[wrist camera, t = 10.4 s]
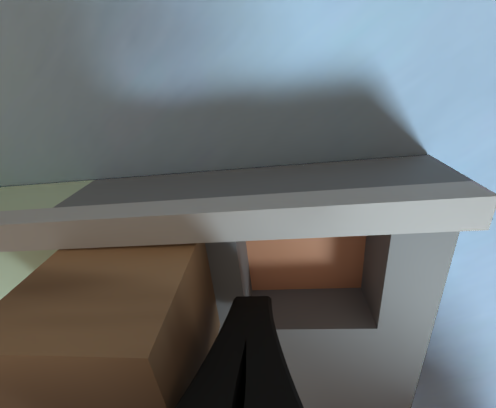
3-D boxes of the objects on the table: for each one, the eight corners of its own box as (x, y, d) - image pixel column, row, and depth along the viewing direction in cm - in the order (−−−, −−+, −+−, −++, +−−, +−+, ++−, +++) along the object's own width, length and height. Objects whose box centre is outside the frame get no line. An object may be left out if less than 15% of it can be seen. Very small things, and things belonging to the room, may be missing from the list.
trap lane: (384, 386, 16) (427, 508, 12) (57, 381, 19) (-10, 481, 14) (428, 154, 10) (554, 227, 6) (-71, 192, 12) (-262, 264, 8)
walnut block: (220, 324, 11) (190, 469, 7) (115, 323, 12) (33, 458, 8) (202, 229, 9) (148, 358, 5) (76, 233, 10) (-62, 353, 6)
